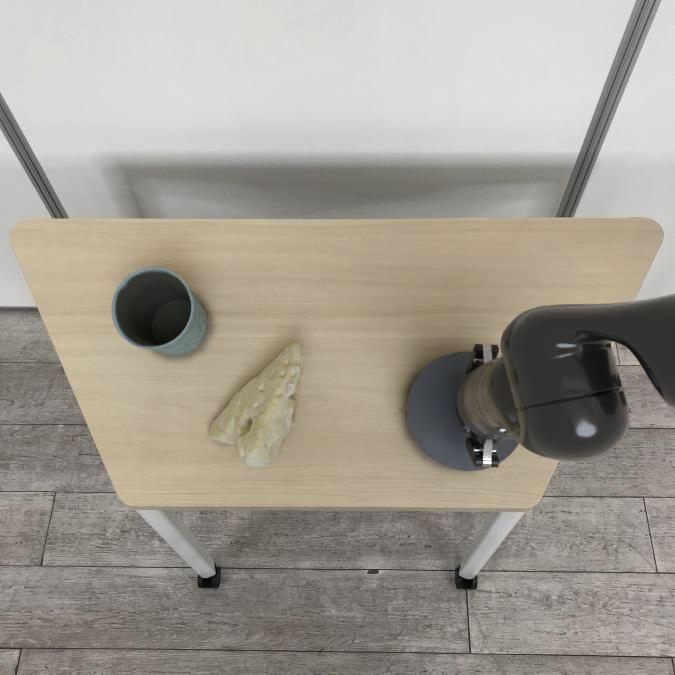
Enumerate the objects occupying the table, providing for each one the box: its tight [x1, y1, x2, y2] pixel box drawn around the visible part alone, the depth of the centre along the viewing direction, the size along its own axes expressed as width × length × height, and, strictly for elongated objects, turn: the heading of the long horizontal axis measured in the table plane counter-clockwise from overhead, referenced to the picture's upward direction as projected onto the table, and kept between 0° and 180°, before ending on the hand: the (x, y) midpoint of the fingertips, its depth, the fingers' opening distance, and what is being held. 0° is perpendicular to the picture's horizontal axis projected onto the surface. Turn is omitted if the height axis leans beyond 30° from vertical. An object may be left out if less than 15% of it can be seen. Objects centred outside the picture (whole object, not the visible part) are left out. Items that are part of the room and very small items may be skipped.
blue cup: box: [110, 266, 209, 356], centre depth 80 cm, size 10×10×12 cm
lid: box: [406, 350, 520, 472], centre depth 73 cm, size 15×15×7 cm
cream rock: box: [207, 341, 306, 469], centre depth 80 cm, size 15×7×15 cm
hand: (469, 409), depth 75 cm, fingers closed on lid, 3 cm apart
